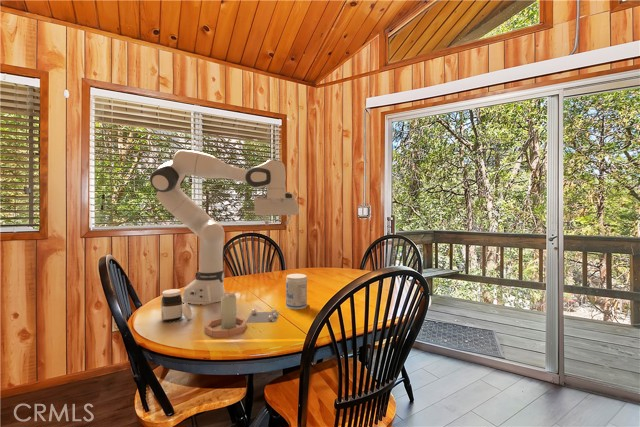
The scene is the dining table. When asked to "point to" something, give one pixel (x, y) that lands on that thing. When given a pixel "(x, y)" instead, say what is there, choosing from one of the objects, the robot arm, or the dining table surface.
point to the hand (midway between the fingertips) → (277, 224)
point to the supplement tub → (296, 291)
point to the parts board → (263, 316)
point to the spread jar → (174, 306)
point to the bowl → (225, 332)
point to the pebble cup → (228, 311)
